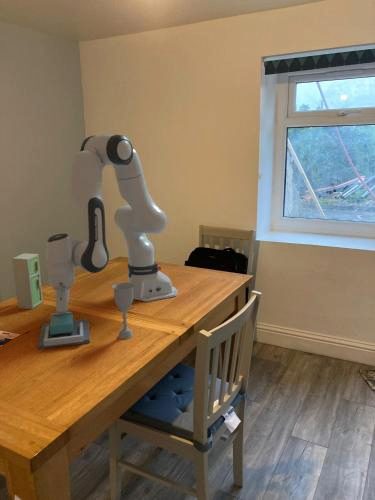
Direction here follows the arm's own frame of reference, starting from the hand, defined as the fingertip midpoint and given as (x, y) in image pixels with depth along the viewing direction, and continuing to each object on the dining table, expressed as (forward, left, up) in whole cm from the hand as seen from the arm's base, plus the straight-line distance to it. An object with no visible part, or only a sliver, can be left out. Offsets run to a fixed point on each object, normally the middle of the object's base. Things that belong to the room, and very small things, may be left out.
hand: (64, 314), depth 143 cm
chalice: (-20, +17, -3) cm, 27 cm away
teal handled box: (0, +10, -2) cm, 10 cm away
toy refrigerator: (+14, -21, -3) cm, 25 cm away
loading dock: (0, +10, -4) cm, 10 cm away
